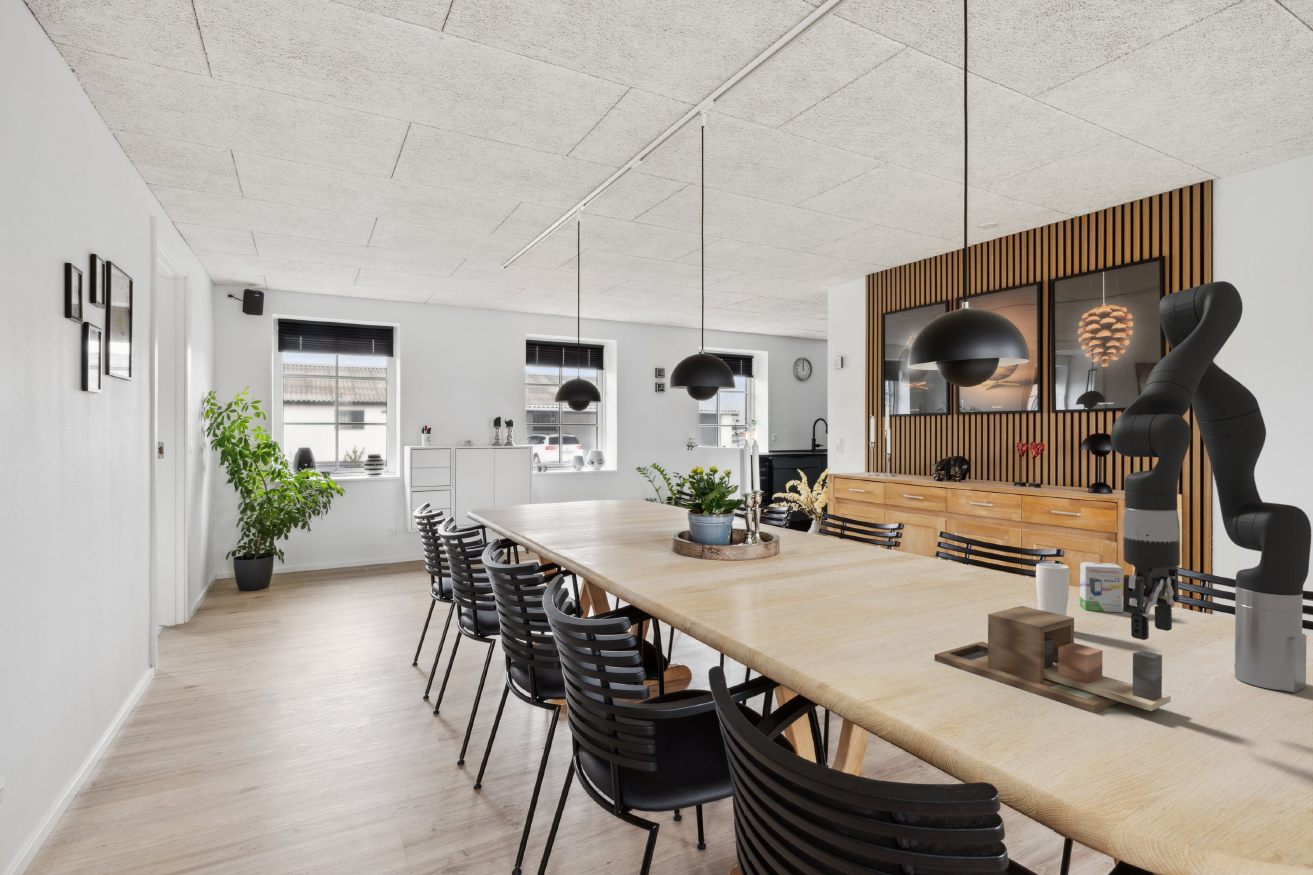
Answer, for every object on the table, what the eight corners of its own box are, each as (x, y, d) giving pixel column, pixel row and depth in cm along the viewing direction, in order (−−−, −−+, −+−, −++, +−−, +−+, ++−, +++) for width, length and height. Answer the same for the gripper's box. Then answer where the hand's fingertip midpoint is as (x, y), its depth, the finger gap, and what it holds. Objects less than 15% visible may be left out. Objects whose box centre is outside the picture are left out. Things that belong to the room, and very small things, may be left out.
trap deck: (1139, 693, 121) (1140, 629, 120) (1093, 712, 112) (1094, 644, 112) (981, 646, 146) (982, 594, 146) (934, 660, 138) (934, 604, 137)
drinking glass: (1060, 625, 162) (1060, 562, 162) (1074, 634, 155) (1075, 568, 155) (1030, 624, 163) (1030, 562, 162) (1043, 633, 156) (1044, 568, 156)
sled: (1170, 701, 113) (1171, 653, 113) (1150, 710, 109) (1151, 661, 109) (1042, 664, 131) (1043, 622, 130) (1022, 671, 127) (1022, 628, 127)
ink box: (1116, 608, 178) (1116, 563, 178) (1123, 613, 173) (1123, 567, 173) (1078, 605, 181) (1079, 561, 180) (1084, 610, 176) (1085, 565, 175)
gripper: (1158, 543, 105) (1159, 648, 105) (1196, 534, 112) (1197, 631, 113) (1104, 537, 111) (1106, 636, 111) (1144, 529, 119) (1145, 621, 119)
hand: (1151, 633), depth 112 cm, fingers open, 8 cm apart
